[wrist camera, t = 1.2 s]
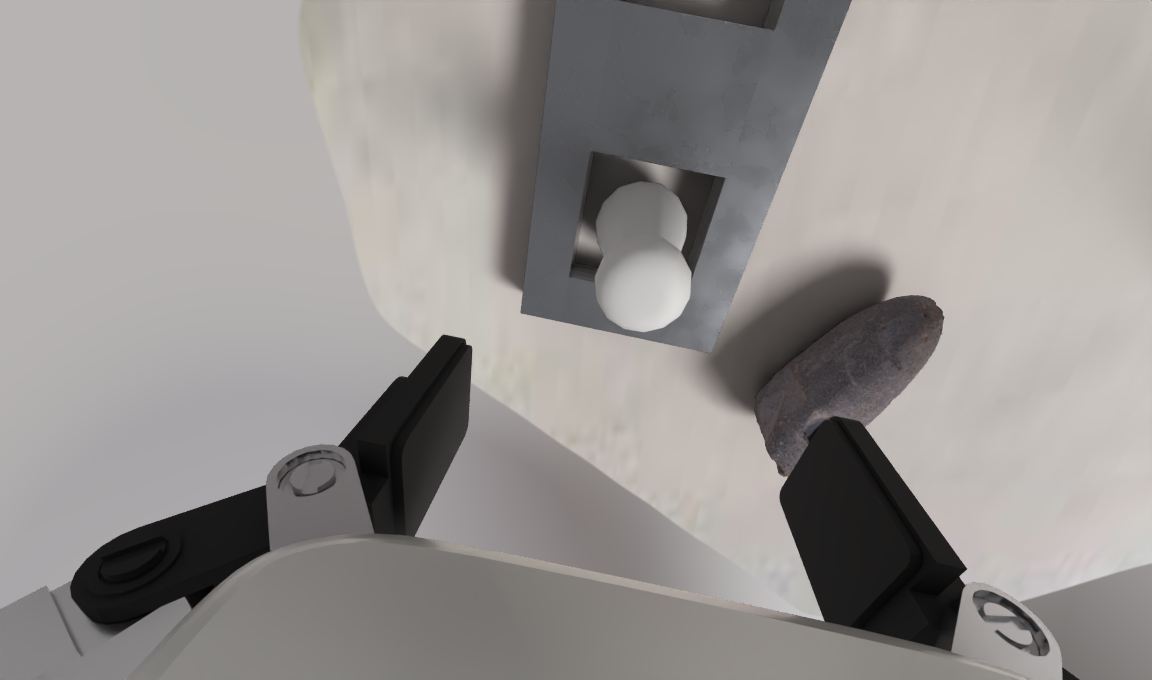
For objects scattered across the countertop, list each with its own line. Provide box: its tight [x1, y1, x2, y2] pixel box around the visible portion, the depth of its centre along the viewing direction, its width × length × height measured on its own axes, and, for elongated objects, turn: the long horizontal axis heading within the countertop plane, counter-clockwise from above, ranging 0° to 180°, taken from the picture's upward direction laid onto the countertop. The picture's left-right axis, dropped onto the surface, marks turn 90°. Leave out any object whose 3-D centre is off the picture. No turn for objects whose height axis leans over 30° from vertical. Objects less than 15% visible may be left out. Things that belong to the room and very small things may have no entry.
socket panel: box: [521, 0, 852, 353], centre depth 24 cm, size 14×30×3 cm, turn 170°
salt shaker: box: [595, 181, 691, 332], centre depth 23 cm, size 6×6×13 cm
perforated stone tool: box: [755, 295, 944, 477], centre depth 30 cm, size 15×5×7 cm, turn 146°
